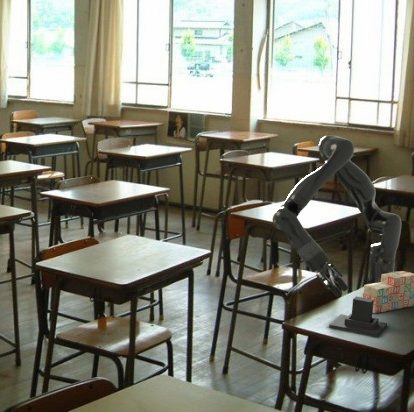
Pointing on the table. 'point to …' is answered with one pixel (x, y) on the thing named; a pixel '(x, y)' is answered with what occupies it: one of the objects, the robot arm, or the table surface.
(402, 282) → the stack of blocks
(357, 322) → the base pad
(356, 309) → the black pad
